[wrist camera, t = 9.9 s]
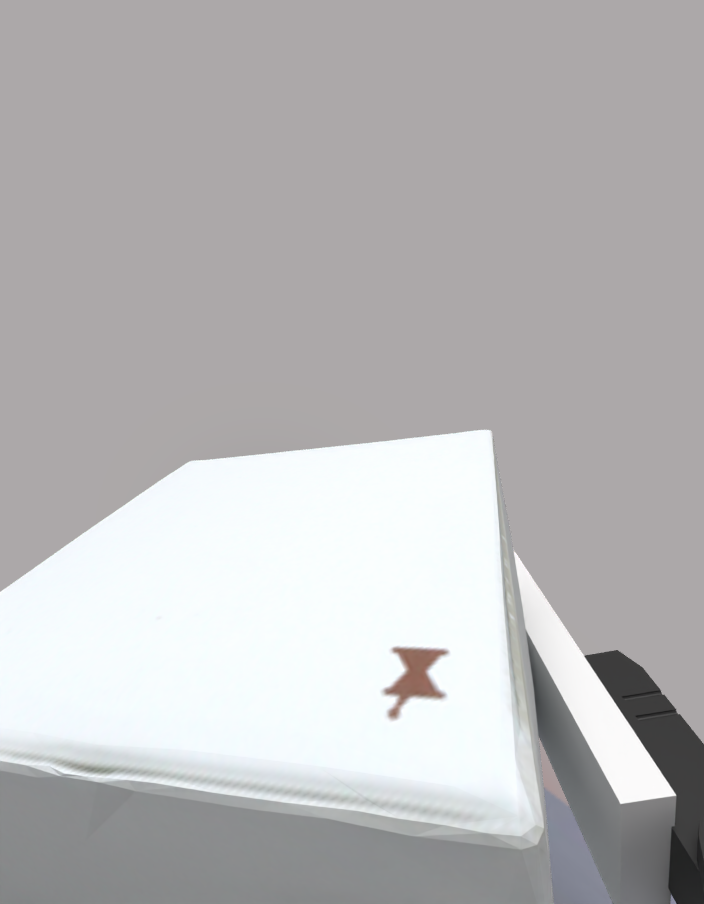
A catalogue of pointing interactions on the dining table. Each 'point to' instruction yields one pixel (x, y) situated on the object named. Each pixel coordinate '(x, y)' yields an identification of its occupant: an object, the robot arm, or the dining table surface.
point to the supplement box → (278, 691)
